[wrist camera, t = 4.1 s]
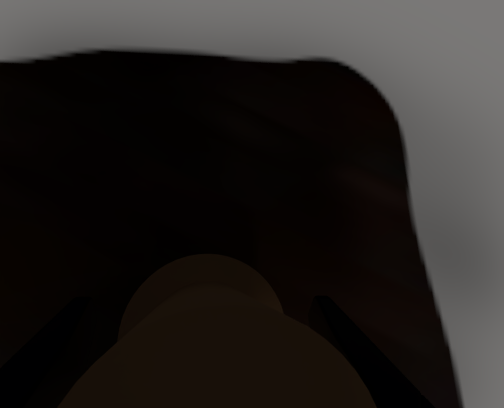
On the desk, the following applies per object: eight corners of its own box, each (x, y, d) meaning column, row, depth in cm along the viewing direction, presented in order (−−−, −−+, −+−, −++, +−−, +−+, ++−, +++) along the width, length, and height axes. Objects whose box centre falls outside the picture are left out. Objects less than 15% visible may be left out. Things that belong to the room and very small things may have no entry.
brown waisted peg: (200, 417, 15) (205, 1141, 2) (112, 321, 15) (-281, 555, 3) (287, 318, 16) (556, 467, 4) (207, 233, 16) (230, 128, 4)
